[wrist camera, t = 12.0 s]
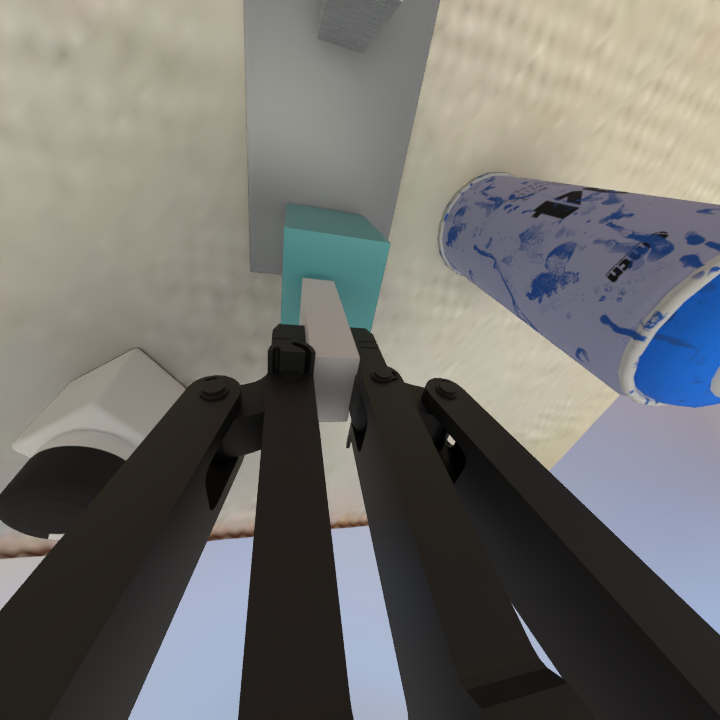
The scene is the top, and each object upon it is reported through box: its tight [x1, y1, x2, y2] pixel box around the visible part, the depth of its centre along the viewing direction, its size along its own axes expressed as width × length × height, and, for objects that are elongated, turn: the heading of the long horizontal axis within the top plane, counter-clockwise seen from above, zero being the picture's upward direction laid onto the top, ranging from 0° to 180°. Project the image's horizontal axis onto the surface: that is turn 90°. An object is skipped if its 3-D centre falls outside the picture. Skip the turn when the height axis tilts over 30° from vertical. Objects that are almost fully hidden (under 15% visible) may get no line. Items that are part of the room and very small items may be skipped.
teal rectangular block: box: [281, 203, 390, 332], centre depth 19 cm, size 5×5×8 cm
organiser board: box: [244, 0, 440, 275], centre depth 19 cm, size 10×17×1 cm, turn 170°
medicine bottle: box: [0, 348, 186, 540], centre depth 22 cm, size 7×7×12 cm
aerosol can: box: [438, 172, 720, 408], centre depth 16 cm, size 8×8×20 cm
